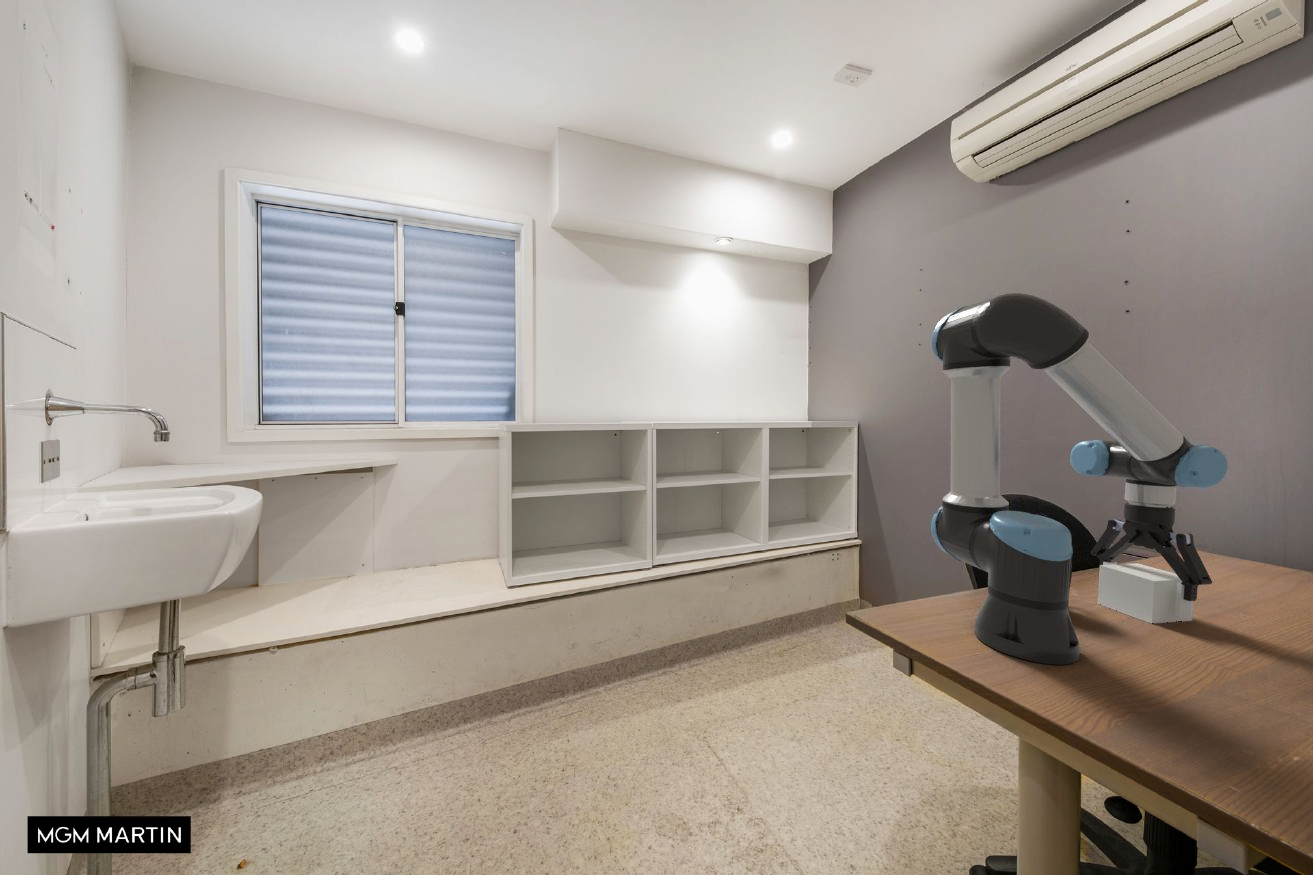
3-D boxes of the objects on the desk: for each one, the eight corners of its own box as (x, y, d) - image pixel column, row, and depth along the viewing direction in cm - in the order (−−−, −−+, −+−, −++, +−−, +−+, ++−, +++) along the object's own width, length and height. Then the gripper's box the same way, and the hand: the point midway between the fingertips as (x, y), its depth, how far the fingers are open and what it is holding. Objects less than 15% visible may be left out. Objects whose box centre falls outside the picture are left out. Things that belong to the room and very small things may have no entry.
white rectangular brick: (1151, 623, 96) (1154, 580, 95) (1097, 603, 106) (1099, 565, 106) (1192, 620, 98) (1195, 578, 97) (1135, 601, 108) (1137, 563, 107)
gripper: (1244, 516, 89) (1236, 626, 90) (1100, 493, 113) (1095, 580, 115) (1212, 517, 88) (1204, 628, 89) (1074, 494, 112) (1069, 581, 113)
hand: (1143, 601), depth 102 cm, fingers open, 13 cm apart
